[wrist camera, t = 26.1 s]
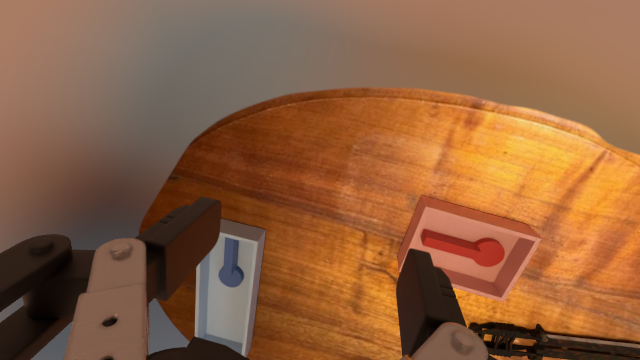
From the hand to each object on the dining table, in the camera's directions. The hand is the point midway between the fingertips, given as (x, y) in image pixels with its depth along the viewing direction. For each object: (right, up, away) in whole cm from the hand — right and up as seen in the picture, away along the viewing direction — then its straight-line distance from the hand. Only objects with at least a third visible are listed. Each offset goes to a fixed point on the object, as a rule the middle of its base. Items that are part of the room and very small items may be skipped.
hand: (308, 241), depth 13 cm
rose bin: (+20, -6, +29) cm, 36 cm away
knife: (+36, -21, +32) cm, 52 cm away
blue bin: (-14, -15, +39) cm, 44 cm away
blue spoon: (-13, -10, +36) cm, 39 cm away
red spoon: (+19, -6, +29) cm, 35 cm away
